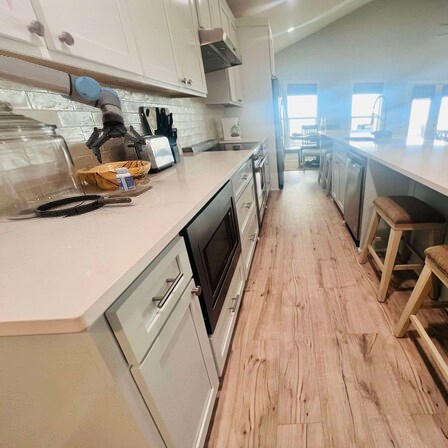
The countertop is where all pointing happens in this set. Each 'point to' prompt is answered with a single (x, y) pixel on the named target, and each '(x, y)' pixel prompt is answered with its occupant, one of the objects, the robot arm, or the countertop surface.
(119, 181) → the pill bottle
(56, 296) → the countertop surface
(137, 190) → the trivet
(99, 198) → the pan
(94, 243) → the countertop surface
